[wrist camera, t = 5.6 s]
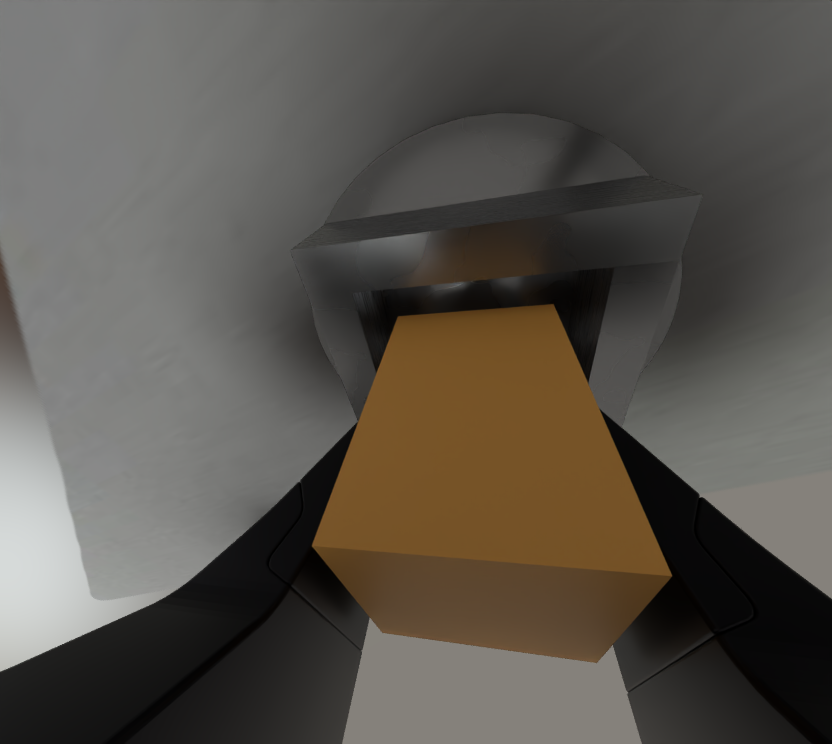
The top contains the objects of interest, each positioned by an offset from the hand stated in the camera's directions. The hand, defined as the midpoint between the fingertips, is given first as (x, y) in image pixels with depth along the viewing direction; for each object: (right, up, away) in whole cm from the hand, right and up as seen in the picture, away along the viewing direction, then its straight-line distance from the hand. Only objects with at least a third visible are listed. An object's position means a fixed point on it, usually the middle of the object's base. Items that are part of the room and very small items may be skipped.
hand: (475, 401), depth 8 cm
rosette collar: (+1, +3, +3) cm, 4 cm away
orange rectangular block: (0, +1, +1) cm, 1 cm away
